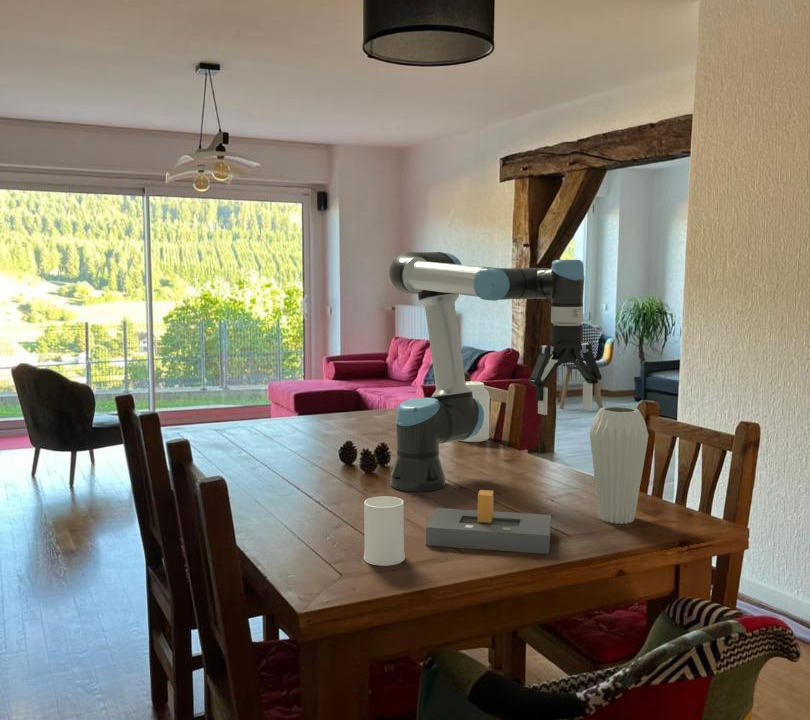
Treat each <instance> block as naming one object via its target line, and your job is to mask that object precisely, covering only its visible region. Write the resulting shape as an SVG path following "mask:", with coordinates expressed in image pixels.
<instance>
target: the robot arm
mask: <svg viewBox="0 0 810 720" xmlns="http://www.w3.org/2000/svg"><path fill="white" fill-rule="evenodd" d="M584 266H585V265H584V262H583V261H582V260H581V259H554V260H553V261H552V263H551V267H550V268H548V267H546V268H545V267H540V268H539V267H521V268H520V267H519V268H518V267H514V268H506V267H505V268H504V267H489V266H488V267H487V266H480V265H479V266H478V265H468V264H462V262H461V261H460V259H459V258H458V257H456V256H455V255H454V254H452V253H449V252H443V251H435V252H434V251H432V252H431V251H430V252H429V251H426V252H425V251H423V252H422V251H421V252H420V251H419V252H418V251H417V252H416V251H408V252H404V253H402V254H399V255H398V256H397V257H395V258H394V260H393V261H392V263H391V264H390V267H389V271H388V272H389V279H390V282H391V284H392V286H394V288H395V289H396V290H398V291H399V292H402V293H403V294H404V293H405V294H410V295H411V294H414V295H417V298H418V303H420V304H421V305H422V306H423V307H424V310H425V317H426V325H427V332H428V338H429V339H428V340H429V341H428V342H429V348H430V354H431V362H432V370H433V377H434V383H435V391H434V392H433V393H432V395H431V397H420V398H419V397H417V398H416V397H415V398H411V399H407V400H405V401H402V402H401V403H400V404H399V405H398V406H397V408H396V418H395V423H396V458H395V461H394V464H393V467H392V470H391V474H390V478H389V479H390V480H389V481H390V483H389V484H390V486H391V487H392V488H393V489H396V490H399V491H405V492H417V493H418V492H430V491H431V492H432V491H437V490H439V489H442V488H444V487H445V486H446V475H445V472H444V468H443V465H442V462H441V459H440V444H445V443H451V442H457V441H459V440H465V439H467V438H471V437H474V436H475V435H477V434H478V432H479V430H480V429H481V428H482V425H483V421H484V411H483V407H482V405H481V404H479V401H478V400H477V399H476V398H473V395H472V390H470V389H469V388H468V387H467V386H466V383H465V382H466V377H465V371H464V362H463V361H464V360H463V355H462V348H461V347H462V346H461V339H460V333H459V326H458V319H457V318H458V317H457V311H456V305H455V304H456V302H457V300H458V299H459V297H460V296H461V295H462V296H468V297H475V298H480V300H484V301H493V302H496V301H499V300H500V301H502V300H532V299H533V300H534V299H538V300H539V299H542V300H545V299H548V300H550V302H551V304H550V306H551V307H550V311H551V312H550V322H551V324H552V325H551V326H550V340H551V342H552V343H551V346H550V345H543V344H542V345H540V348H539V349H540V350H539V355H538V358H537V360H536V362H535V365H534V367H533V369H532V372H531V375H530V377H529V379H528V384H529V385H532V386H534V387H535V400H536V401H537V414H539V415H543V416H547V415H548V396H549V395H548V393H549V391H548V390H549V389H548V387H546V385H547V383H548V382H549V381H550V379H551V378H552V376H553V375H554V374H555V372H556V370H557V369H558V367H559V366H561V365H562V364H568V363H570V364H573V365H574V366H575V367H576V369H577V370H578V372H579V373H580V375H581V376H582V378H583V379H584V380H585V382H582V409H583V410H587V411H593V397H594V396H595V384H598V383H599V381H601V380H602V378H603V376H602V374H601V371H600V370H599V369H600V368H599V365H598V363H597V361H596V358H595V355H594V353H593V345H592V343H588V342H582V341H583V335H584V333H583V330H584V326H583V325H582V324H583V322H584V287H585V286H584V285H585V269H584ZM581 354H582V355H581Z"/></svg>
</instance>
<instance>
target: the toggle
mask: <svg viewBox="0 0 810 720" xmlns="http://www.w3.org/2000/svg"><path fill="white" fill-rule="evenodd" d="M477 511H478V522H489V523H491V522H492V519H493V511H494V490H488V489H485V490H484V489H480V490H479V491H478V494H477Z"/></svg>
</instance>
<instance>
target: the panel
mask: <svg viewBox="0 0 810 720" xmlns="http://www.w3.org/2000/svg"><path fill="white" fill-rule="evenodd" d="M551 533H552V515H551V514H541V513H540V514H539V513H525V512H509V511H508V512H507V511H494V510H493V519H492V522H491V523H489V522H478V509H477V510H475V509H457V508H456V509H455V508H442V507H441V508H440V507H437V508H436V509H435V511H434V513H433V515H432V516H431V518H430V520H429V521H428V523H427V525H426V527H425V546H433V547H444V548H445V547H447V548H459V549H460V548H462V549H474V550H475V549H476V550H488V551H500V552H501V551H503V552H516V553H517V552H518V553H531V554H543V555H544V554H546V555H548V554H550V546H551V544H550V543H551Z"/></svg>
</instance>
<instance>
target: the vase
mask: <svg viewBox="0 0 810 720" xmlns="http://www.w3.org/2000/svg"><path fill="white" fill-rule="evenodd" d="M591 423H592V424H591V427H590V431H589V438H590V448H591V457H592V465H593V467H592V468H593V474H594V475H593V476H594V484H595V493H596V503H597V511H598V518H599V519H600V520H601V521H603V522H605V523H610V524H616V525H617V524H620V525H621V524H622V525H623V524H626V525H628V523H629V524H630V523H632V522H634V521H635V517H636V511H637V507H638V502H639V501H638V500H639V496H640V495H639V493H640V486H641V482H642V476H643V471H644V465H645V460H646V459H645V458H646V453H647V447H648V440H649V437H650V436H649V432H648V427H647V424H646V421H645V418H644V416H643V415H642V413H641V411H640V409H637V408H636V407H631V406H630V407H629V406H628V407H627V406H614V405H613V406H603V407H601V408H599V409H598V411H597V413H596V414H595V416H594V418H593V420H592V422H591Z"/></svg>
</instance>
